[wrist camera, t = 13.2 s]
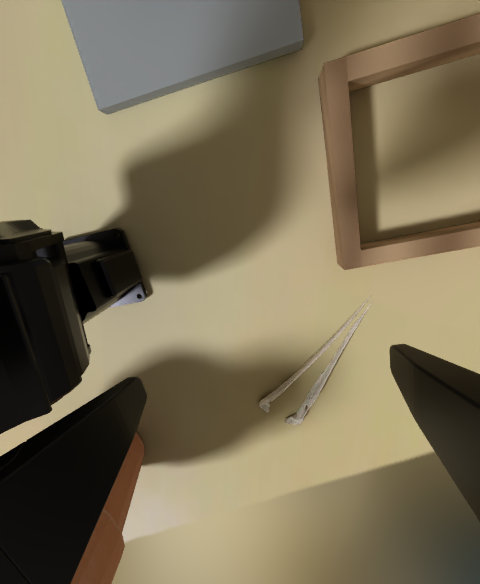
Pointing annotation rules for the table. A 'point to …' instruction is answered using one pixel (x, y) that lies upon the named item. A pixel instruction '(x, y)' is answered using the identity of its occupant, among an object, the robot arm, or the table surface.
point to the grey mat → (175, 43)
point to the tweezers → (322, 378)
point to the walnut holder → (339, 145)
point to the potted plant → (111, 524)
